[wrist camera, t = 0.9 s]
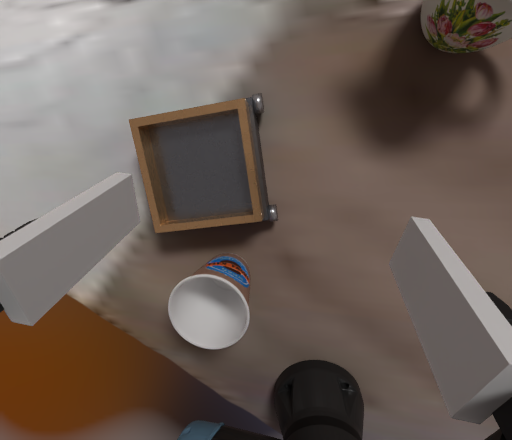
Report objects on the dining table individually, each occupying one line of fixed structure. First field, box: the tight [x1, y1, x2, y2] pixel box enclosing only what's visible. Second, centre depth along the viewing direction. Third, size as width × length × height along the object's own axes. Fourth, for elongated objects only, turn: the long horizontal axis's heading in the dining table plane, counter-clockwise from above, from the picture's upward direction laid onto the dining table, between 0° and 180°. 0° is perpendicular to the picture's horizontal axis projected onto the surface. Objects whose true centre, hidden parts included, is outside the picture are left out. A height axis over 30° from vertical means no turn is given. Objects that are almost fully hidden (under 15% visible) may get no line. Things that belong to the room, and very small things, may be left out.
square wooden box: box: [129, 93, 278, 233], centre depth 36 cm, size 17×17×6 cm
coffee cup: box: [168, 253, 250, 349], centre depth 38 cm, size 10×10×12 cm
